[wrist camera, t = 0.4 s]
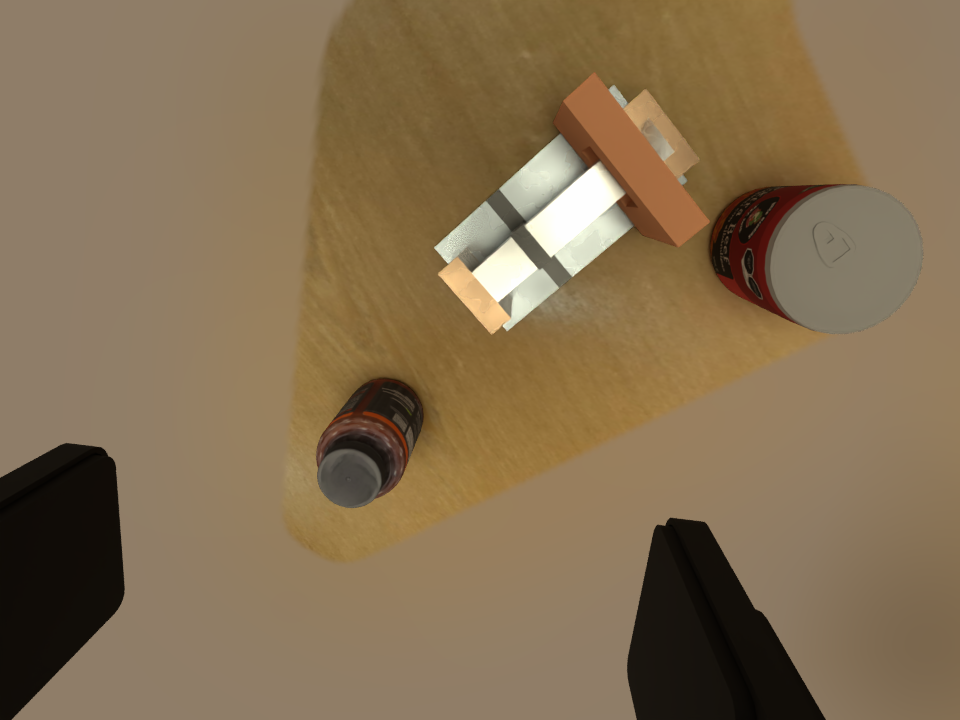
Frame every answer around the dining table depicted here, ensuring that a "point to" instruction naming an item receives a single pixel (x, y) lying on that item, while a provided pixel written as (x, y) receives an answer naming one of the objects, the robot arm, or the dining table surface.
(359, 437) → the supplement bottle
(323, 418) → the dining table surface
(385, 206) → the dining table surface
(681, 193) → the collar
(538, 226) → the stand
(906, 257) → the canned food
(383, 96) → the dining table surface
